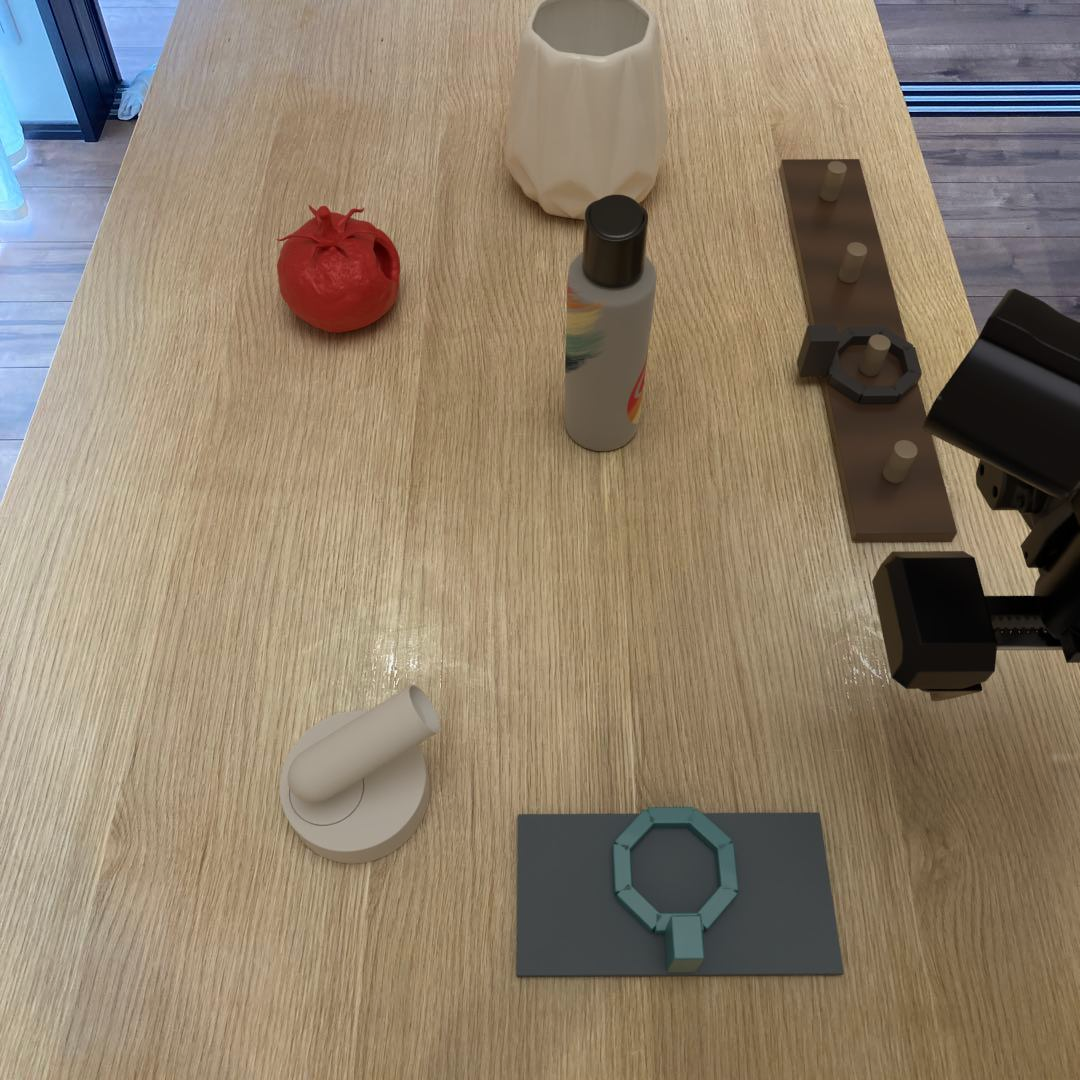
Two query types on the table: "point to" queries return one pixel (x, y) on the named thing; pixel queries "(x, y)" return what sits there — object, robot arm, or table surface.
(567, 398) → the lotion bottle
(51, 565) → the table surface
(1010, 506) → the robot arm
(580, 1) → the vase
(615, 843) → the ring teal
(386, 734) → the wall hook
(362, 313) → the pomegranate
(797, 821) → the mat
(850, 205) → the peg rack
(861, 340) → the ring charcoal
